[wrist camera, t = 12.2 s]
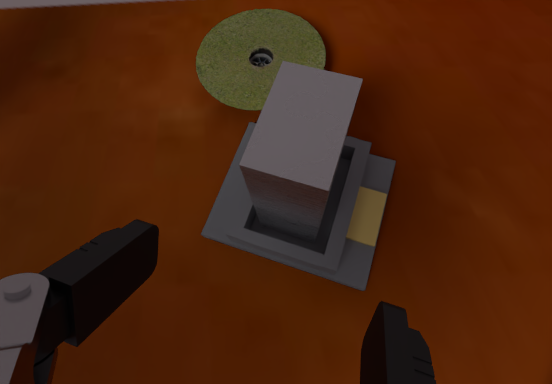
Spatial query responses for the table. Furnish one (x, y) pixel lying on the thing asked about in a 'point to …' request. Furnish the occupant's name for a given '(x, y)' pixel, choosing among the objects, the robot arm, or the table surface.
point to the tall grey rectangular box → (298, 147)
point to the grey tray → (334, 226)
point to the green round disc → (255, 55)
